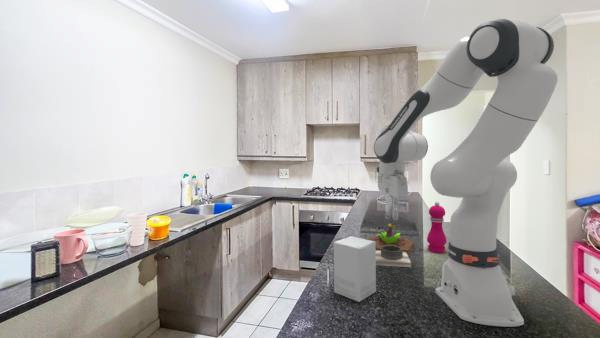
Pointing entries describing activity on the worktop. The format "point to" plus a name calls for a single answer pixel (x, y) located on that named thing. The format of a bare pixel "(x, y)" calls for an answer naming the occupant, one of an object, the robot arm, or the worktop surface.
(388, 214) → the frosted cylinder in socket
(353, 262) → the supplement box
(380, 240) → the plant
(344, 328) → the worktop surface
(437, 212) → the pepper mill
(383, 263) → the duct board
